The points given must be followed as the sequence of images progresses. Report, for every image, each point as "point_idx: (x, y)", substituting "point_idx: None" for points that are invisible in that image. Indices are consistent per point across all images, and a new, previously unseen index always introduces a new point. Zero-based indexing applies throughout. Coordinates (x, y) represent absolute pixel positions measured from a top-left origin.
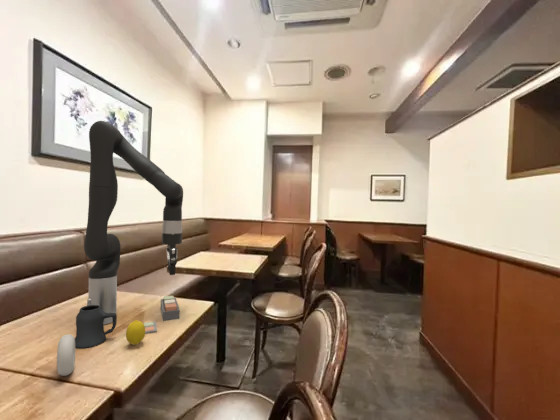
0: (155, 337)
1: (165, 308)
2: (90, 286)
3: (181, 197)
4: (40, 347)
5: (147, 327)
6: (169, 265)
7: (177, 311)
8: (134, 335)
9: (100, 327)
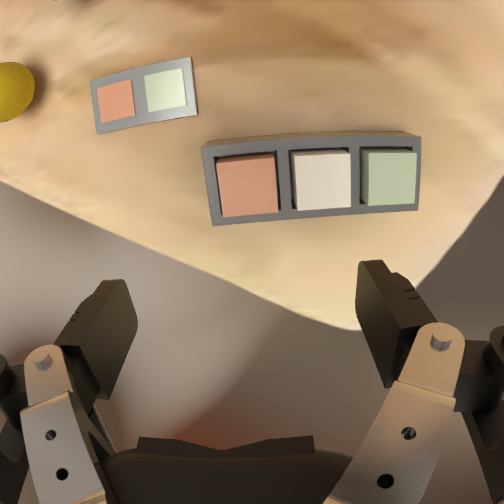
0: (63, 137)
1: (240, 158)
2: None
3: None
4: None
5: (128, 92)
6: (63, 345)
7: (211, 214)
8: None
9: None
